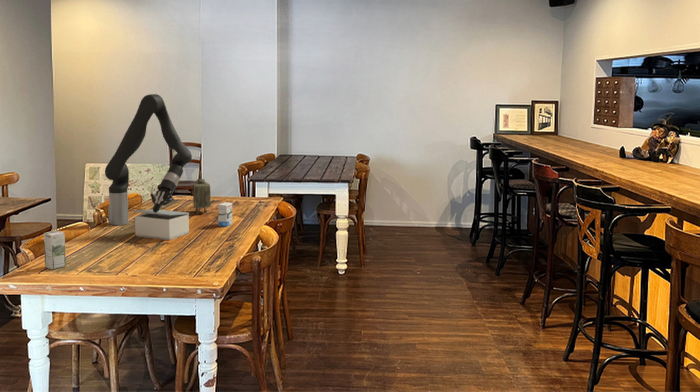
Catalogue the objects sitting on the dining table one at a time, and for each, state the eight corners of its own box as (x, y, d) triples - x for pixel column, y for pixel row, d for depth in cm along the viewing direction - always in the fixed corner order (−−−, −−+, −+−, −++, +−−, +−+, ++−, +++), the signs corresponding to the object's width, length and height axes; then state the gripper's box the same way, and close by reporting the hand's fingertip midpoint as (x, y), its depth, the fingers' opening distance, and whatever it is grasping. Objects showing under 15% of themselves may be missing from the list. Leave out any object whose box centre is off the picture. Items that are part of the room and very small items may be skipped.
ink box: (226, 227, 327) (226, 205, 325) (218, 226, 328) (217, 204, 326) (232, 223, 335) (232, 202, 333) (224, 223, 336) (224, 202, 334)
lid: (133, 211, 300) (134, 210, 300) (155, 210, 315) (155, 209, 315) (169, 215, 293) (169, 214, 293) (189, 214, 309) (189, 212, 309)
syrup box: (58, 264, 252) (56, 230, 250) (66, 266, 249) (64, 232, 246) (45, 267, 248) (42, 232, 245) (53, 270, 244) (50, 234, 242)
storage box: (135, 236, 302) (134, 216, 301) (156, 229, 317) (155, 210, 315) (169, 240, 296) (169, 220, 294) (189, 233, 310) (188, 214, 309)
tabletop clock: (193, 210, 368) (192, 169, 364) (208, 209, 371) (208, 169, 367) (194, 215, 355) (194, 172, 350) (210, 214, 357) (210, 172, 353)
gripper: (154, 177, 307) (139, 205, 298) (177, 179, 303) (162, 207, 294) (161, 186, 313) (147, 214, 304) (183, 188, 309) (169, 216, 299)
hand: (154, 211), depth 299 cm, fingers closed
